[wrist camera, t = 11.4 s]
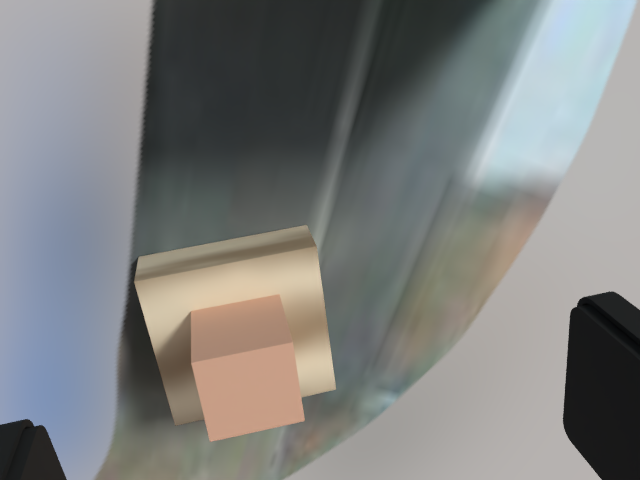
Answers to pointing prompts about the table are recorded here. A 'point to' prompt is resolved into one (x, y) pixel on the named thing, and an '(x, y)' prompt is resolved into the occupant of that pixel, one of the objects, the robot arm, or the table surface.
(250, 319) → the cube
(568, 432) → the robot arm
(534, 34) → the table surface
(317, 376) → the base
